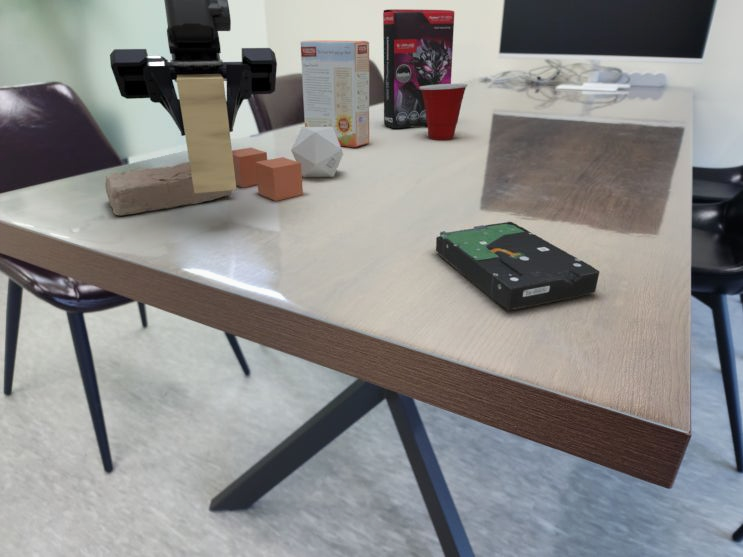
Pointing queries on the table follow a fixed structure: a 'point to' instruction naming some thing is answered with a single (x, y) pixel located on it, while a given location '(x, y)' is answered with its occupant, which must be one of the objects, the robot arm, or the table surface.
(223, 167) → the maple block
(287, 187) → the cube mid
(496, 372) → the table surface
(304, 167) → the die
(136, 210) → the brick
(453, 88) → the plastic cup
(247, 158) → the cube far
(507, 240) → the disk drive
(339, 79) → the cracker box
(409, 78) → the graphics card box
